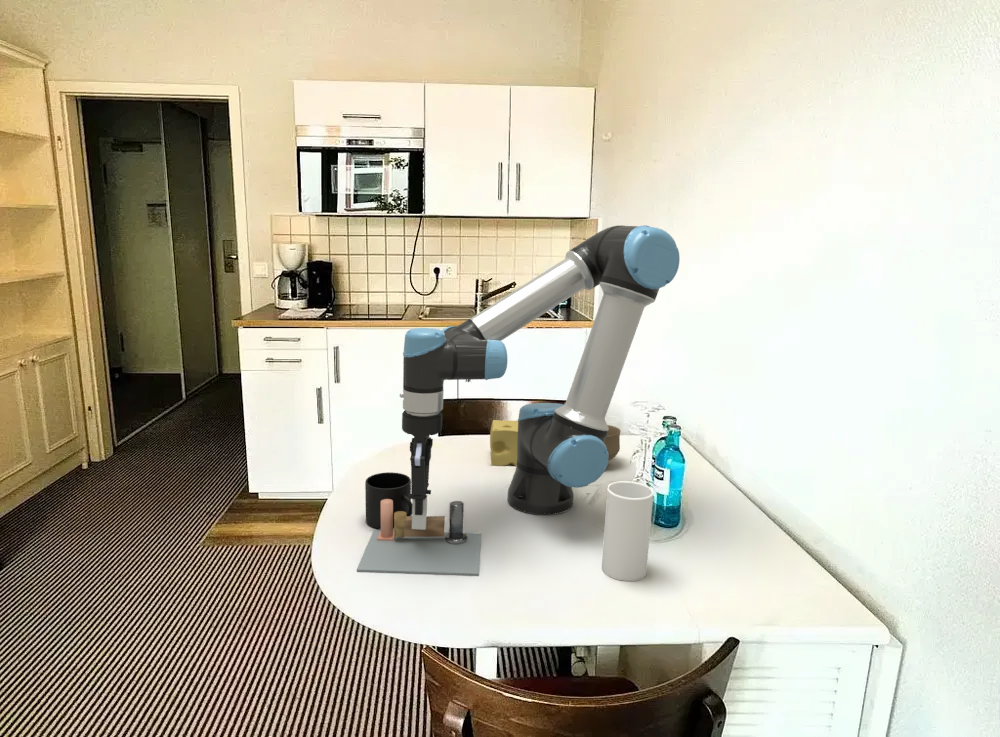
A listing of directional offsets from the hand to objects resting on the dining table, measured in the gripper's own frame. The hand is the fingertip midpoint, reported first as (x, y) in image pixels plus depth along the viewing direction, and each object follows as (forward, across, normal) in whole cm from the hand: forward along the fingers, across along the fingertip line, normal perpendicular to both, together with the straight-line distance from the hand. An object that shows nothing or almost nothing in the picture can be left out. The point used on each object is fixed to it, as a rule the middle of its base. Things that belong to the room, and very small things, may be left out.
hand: (419, 527), depth 130 cm
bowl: (+3, -49, +41) cm, 64 cm away
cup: (+4, +7, +39) cm, 40 cm away
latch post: (+4, -2, -7) cm, 8 cm away
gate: (+2, -2, 0) cm, 3 cm away
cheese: (+3, -50, +18) cm, 54 cm away
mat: (+4, +3, +1) cm, 5 cm away
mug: (+4, -10, -7) cm, 13 cm away
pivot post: (+4, -2, +7) cm, 8 cm away
